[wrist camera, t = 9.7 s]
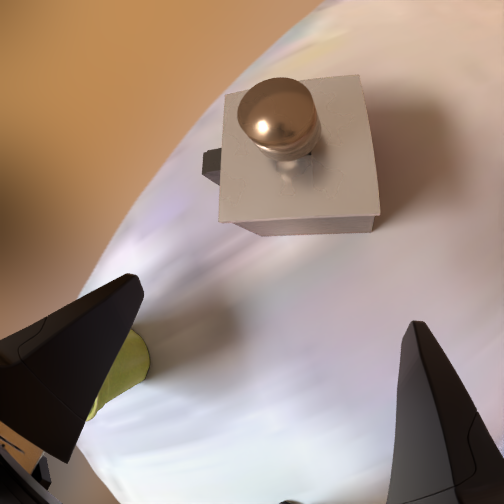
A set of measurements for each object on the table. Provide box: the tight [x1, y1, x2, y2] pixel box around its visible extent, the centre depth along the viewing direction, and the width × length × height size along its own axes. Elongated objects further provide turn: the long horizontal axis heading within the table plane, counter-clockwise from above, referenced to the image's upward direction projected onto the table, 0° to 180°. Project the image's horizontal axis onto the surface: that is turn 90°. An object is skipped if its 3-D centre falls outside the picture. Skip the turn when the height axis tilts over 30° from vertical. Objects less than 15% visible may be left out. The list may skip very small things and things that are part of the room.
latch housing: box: [202, 75, 380, 236], centre depth 19 cm, size 9×11×7 cm
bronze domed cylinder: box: [237, 78, 321, 162], centre depth 16 cm, size 4×4×9 cm
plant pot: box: [86, 329, 150, 421], centre depth 23 cm, size 9×9×9 cm
